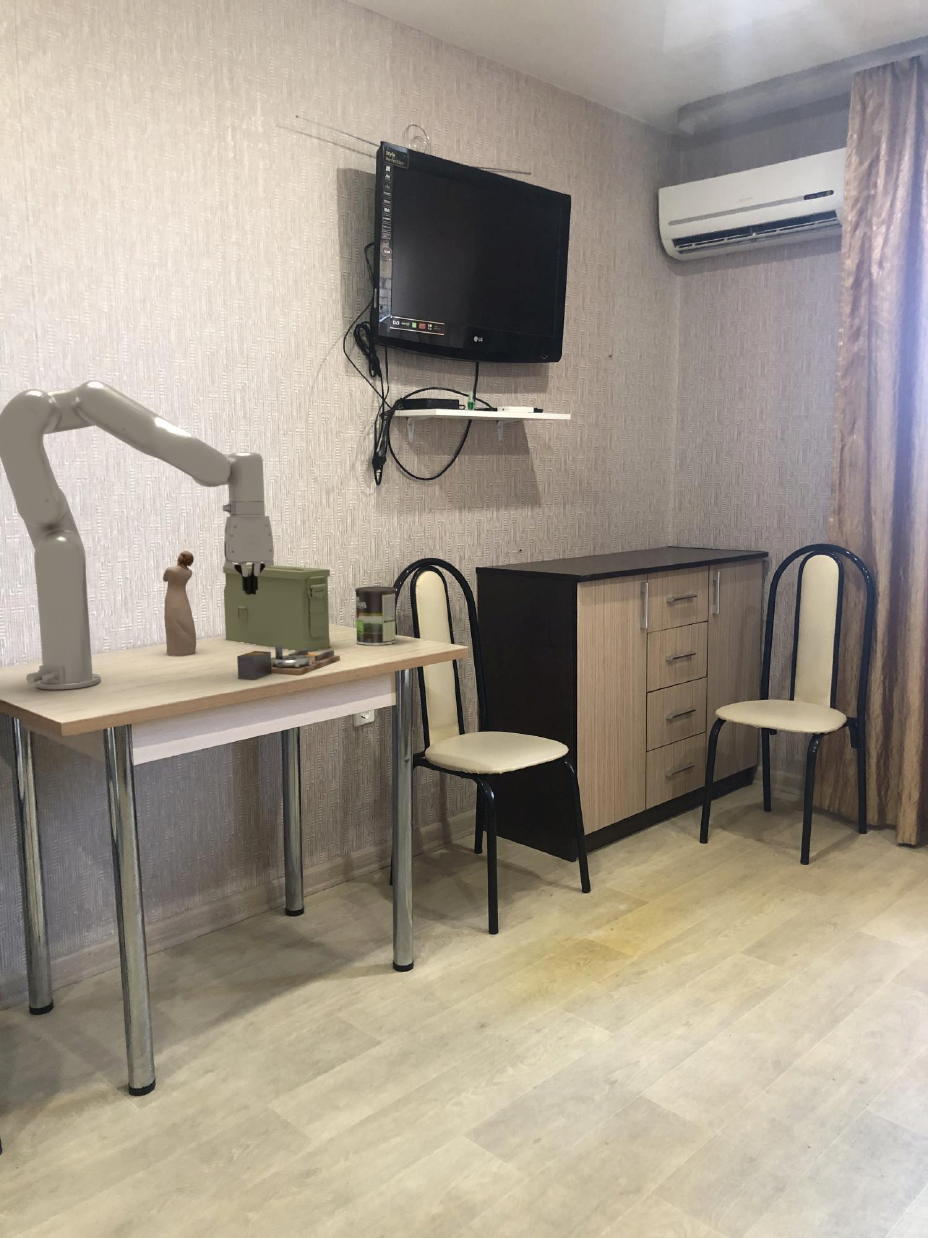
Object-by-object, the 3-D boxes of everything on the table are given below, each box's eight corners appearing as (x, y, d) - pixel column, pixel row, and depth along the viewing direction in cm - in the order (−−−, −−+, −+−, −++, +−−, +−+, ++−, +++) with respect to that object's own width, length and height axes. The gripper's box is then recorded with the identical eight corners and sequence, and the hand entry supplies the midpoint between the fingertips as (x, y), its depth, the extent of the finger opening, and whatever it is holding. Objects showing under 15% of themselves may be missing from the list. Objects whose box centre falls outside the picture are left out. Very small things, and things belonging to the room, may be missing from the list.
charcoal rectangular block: (254, 680, 209) (253, 656, 209) (238, 679, 211) (237, 655, 210) (271, 674, 216) (270, 651, 215) (255, 673, 217) (254, 650, 216)
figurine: (202, 650, 247) (198, 549, 243) (190, 656, 238) (185, 552, 235) (172, 650, 247) (167, 550, 244) (158, 656, 239) (153, 552, 236)
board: (300, 675, 214) (300, 665, 214) (255, 672, 218) (255, 662, 217) (340, 659, 232) (339, 650, 231) (298, 657, 235) (298, 648, 235)
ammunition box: (306, 653, 241) (304, 571, 238) (223, 640, 262) (220, 565, 259) (335, 648, 248) (333, 568, 246) (252, 635, 269) (249, 562, 267)
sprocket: (299, 668, 214) (299, 651, 214) (260, 666, 218) (259, 649, 217) (321, 660, 224) (320, 644, 223) (282, 658, 227) (282, 642, 226)
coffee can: (364, 647, 249) (362, 591, 247) (351, 641, 259) (349, 587, 257) (402, 643, 254) (401, 589, 252) (388, 638, 263) (387, 585, 261)
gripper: (215, 511, 208) (219, 597, 211) (285, 509, 215) (288, 593, 217) (208, 510, 215) (212, 594, 218) (276, 508, 221) (279, 590, 224)
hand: (250, 593), depth 217 cm, fingers closed
